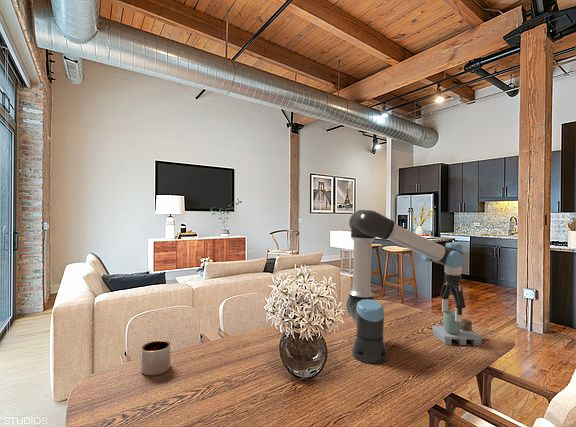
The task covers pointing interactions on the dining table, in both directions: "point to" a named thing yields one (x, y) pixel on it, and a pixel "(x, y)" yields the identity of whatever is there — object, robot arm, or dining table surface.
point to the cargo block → (466, 325)
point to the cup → (451, 322)
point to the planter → (155, 357)
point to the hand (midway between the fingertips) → (451, 316)
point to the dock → (456, 336)
